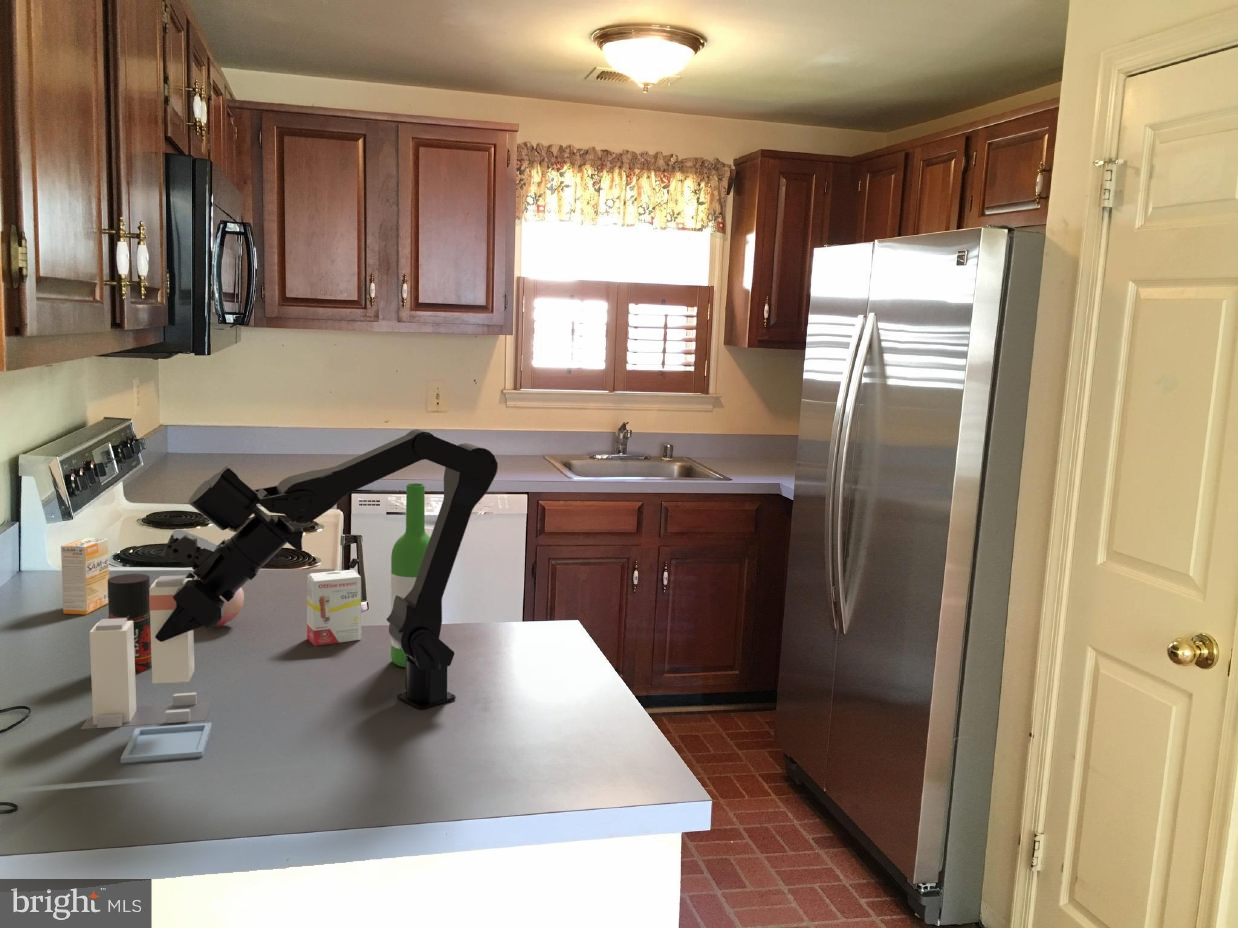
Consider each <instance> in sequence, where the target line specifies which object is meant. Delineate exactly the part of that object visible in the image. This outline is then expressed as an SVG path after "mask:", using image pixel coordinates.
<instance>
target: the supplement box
mask: <svg viewBox="0 0 1238 928" xmlns="http://www.w3.org/2000/svg"><path fill="white" fill-rule="evenodd" d="M60 554H61V555H60V557H61V559H60V561H61V579H62V581H61V582H62V583H61V584H62V588H61V589H62V608H63V609H62V610H63V614H64V615H65V614H67V615H89V614H90V613H92V612H94V611H96V610H98V609H100V608H102V607H104V606H106V605H108V581H107V580H108V579H109V578H110V574H109V573H110V566H109V565H110V564H109V563H110V562H109V538H107V537H106V538H104V537H85V538H82V539H78V540H77V541H76V540H75V541H73V542H70V543H66V544H64V545H63V544H62V545H61V546H60Z"/></svg>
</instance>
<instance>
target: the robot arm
mask: <svg viewBox="0 0 1238 928" xmlns="http://www.w3.org/2000/svg"><path fill="white" fill-rule="evenodd" d="M422 460H426V461H429V462H431V463H434V464H437V465H439V466H441V467H444V468H445V469H444V475H443V501H442V503H441V507H440V508H439V511H438V515H437V518H436V520H435V523H434V526H433V529H432V532H431V535H430V540H429V543H428V546H427V549H426V552H425V555H424V558H423V561H422V563H421V566H420V569H419V572H418V575H417V578H416V581H415V584H414V586H413V588H412V590H411V591H410V592H409V593H408V594H407V596H406V597H405V598H402V597H400V596H398V595H397V596H396V597H395V599H394V604H393V609H392V612H391V611H390V614H389V615H388V616H387V618H386V621H387V622H388V623H389V626H388V633H389V635H390V639H391V638H392V639H393V641H394V642H395V643H396V644H397V645H398V646H399V647H400V648H401V649H402V650H403V652H404V653H405V654H407V655H408V656H406V666H405V667H404V668H405V669H404V671H405V674H404V676H405V677H404V678H405V679H404V685H405V686H404V687H405V688H404V690H405V691H403V692H399V693H397V694H396V698H397V699H399V700H401V701H403V702H405V703H406V704H408V705H410V706H413V707H415V708H417V709H419V710H424V709H427V708H430V707H433V706H437V705H440V704H443V703H444V704H445V703H447V702H451V701H454V700H456V695H455V694H453V693H451V692H449V691H448V667H450V666H451V665H452V662H453V659H454V658H455V657H454V656H455V651H454V650H452V648H450V646H448V645H447V644H446V643H445V642H444V641H443V640H441V639H440V636H441V629H442V624H443V596H444V593H445V590H446V588H447V584H448V583H449V580H450V576H451V575H452V574H451V573H452V571H453V567H454V565H455V562H456V558H457V555H458V552H459V551H460V548H461V547H460V546H461V544H462V542H463V539H464V535H465V533H466V530H467V527H468V525H469V521H470V518H471V516H472V512H473V511H474V508H475V507H476V505H478V503H479V502H480V501H481V500H482V499H483V497H485V495H486V494H487V492H488V491H489V489H490V487H491V485H492V483H493V481H494V479H495V478H496V476H497V473H498V469H499V463H498V461H497V459H496V456H495V455H494V454H493V452H491V450H489V449H487V448H485V447H482V446H479V445H476V444H472V443H469V442H465V443H460V444H458V445H457V444H455V443H453V442H450V441H447V440H445V439H442V438H439V437H437V436H435V435H434V434H433V433H431V432H429V431H426V430H422V429H417V428H416V429H412V430H410V431H409V432H407V433H406V434H405V435H402V436H400V437H398V438H396V439H394V440H391V441H389V442H387V443H384V444H383V445H380V446H378V447H376V448H373V449H371V450H368V451H366V452H365V453H361V454H359V455H358V456H355V457H353V458H351V459H349V460H346V461H344V462H341V463H339V464H337V465H334V466H331V467H327V468H320V469H315V470H310V471H309V470H308V471H305V472H302V473H298V474H293V475H290V476H286V477H285V478H284V479H282V480H281V481H279V482H278V484H277V485H273V486H265V487H260V488H255V489H253V488H251V487H250V486H249V485H248V484H246V483H245V481H243V480H242V479H241V478H240V477H239V476H238V475H237V473H236V472H235V471H233V469H231V468H230V467H229V466H224V467H223V468H222V469H221V470H220V471H219V472H216V473H215V474H214V475H212V476H211V477H210V478H209V479H208V480H204V481H203V482H202V483H201V484H200V486H198V487H197V489H196V490H195V491H194V492H193V493H192V494H191V496H190V498H189V499H188V504H189V506H192V508H193V509H195V511H196V510H197V512H198V513H200V514H201V515H202V516H203V517H204V518H206V519H207V520H208V521H210V522H211V524H213V525H214V526H215V527H217V528H218V529H219V530H221V531H225V530H227V529H230V530H237V529H238V528H239V529H238V530H237V531H236V532H235V533H234V534H233V535H232V536H230V538H227V539H225V538H224V539H223V540H222V541H221V542H220V543H218V544H216V543H214V542H212V541H209V540H208V539H205V538H202V537H200V536H198V535H196V534H193V533H191V532H188V531H185V530H183V529H179V528H176V529H174V531H173V532H172V533H171V535H170V537H169V539H168V541H167V543H166V545H165V547H164V549H163V551H162V554H161V557H163V558H164V559H166V560H168V561H175V562H178V563H180V564H182V565H186V566H188V567H190V568H191V569H192V570H193V572H190V571H189V572H188V573H187V574H186V579H188V578H192V580H187V581H186V582H185V583H184V584H183V585H182V586H181V587H180V588H178V590H177V591H176V593H175V594H174V596H173V598H174V600H175V601H176V608H175V609H174V611H173V612H172V614H171V615H170V616H169V618H168V619H167V620H166V622H165V623H164V625H163V626H162V627H161V629H160V630H159V632H158V633H157V634H156V636H155V638H156V639H157V640H159V641H160V642H163V641H165V640H168V639H170V638H173V637H175V636H178V635H180V634H183V633H186V632H188V631H191V630H193V631H194V630H197V629H199V628H201V627H206V628H207V629H209V630H211V629H213V627H216V626H215V625H216V624H217V623H218V622H219V621H220V620H221V619H222V617H223V614H224V612H225V602H224V601H223V600H222V599H221V598H220V596H222V597H223V598H224V599H225V600H226V601H228V602H229V601H230V600H231V599H232V598H233V597H234V595H235V593H236V592H237V591H238V590H239V589H240V588H242V587H243V586H244V585H245V584H246V583H247V582H249V580H250V581H252V580H253V579H254V578H255V577H256V576H257V574H258V572H259V571H260V569H262V567H264V566H265V565H266V564H267V563H268V562H269V561H270V560H271V559H272V558H274V556H276V554H277V553H278V552H280V550H281V549H282V548H283V547H285V546H286V545H287V544H288V545H290V546H291V547H292V548H293V549H295V550H296V551H297V552H302V551H303V541H302V540H303V535H304V529H303V527H302V526H298V527H297V526H291V525H290V524H289V523H288V522H287V521H285V520H284V519H283V518H282V517H281V516H279V515H284V516H285V517H287V519H289V520H290V521H292V522H296V523H299V524H307V523H310V522H313V521H315V520H317V519H318V518H319V517H321V516H322V515H324V514H325V513H327V512H328V511H329V510H331V509H333V508H334V507H335V506H336V505H337V504H338V503H339V502H340V501H341V500H343V498H345V497H346V496H348V495H349V494H351V493H352V492H355V491H357V490H359V489H361V488H364V487H366V486H368V485H371V484H373V483H374V482H377V481H379V480H381V479H384V478H385V477H387V476H390V475H392V474H394V473H396V472H398V471H401V470H402V469H404V468H407V467H409V466H411V465H414V464H416V463H418V462H421V461H422ZM258 504H259V505H260V506H262V507H263V508H264V510H266V511H267V512H269V513H270V514H275V515H272V516H271V515H269V514H268V513H267V512H265V511H264V510H262V509H261V508H260V507H259V506H258ZM278 514H279V515H278ZM252 515H253V516H252ZM251 516H252V517H251ZM248 519H249V520H248Z"/></svg>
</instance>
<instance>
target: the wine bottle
mask: <svg viewBox="0 0 1238 928" xmlns="http://www.w3.org/2000/svg"><path fill="white" fill-rule="evenodd" d="M405 487H406V494H405V495H406V497H405V499H406V502H405V532H404V533H403V534H402V535H401V536H400V537H399V538H398V539H397V540H396V542H395V543H394V544H393V546H392V551H391V558H390V559H391V562H390V563H391V564H390V613H391V612H392V609H393V604H394V599H395V597H396V596H397V595H398V596H400V597H402V598H405V597H406V596H407V594H408V593H409V592H410V591H411V590H412V588H413V586H414V584H415V581H416V578H417V575H418V572H419V569H420V566H421V563H422V561H423V558H424V555H425V552H426V549H427V546H428V543H429V540H430V537H431V535H428V534H427V532H426V531H425V530H426V529H425V518H426V517H425V516H426V515H425V509H426V508H425V502H426V501H425V498H426V497H425V492H426V491H425V488H426V487H425V485H424V484H423V483H416V482H415V483H408V484H407V485H406V486H405ZM406 656H408V655H407V654H405V653H404V652H403V650H402V649H401V648H400V647H399V646H398V645H397V644H396V643H395V642H394V641H393V639H392V638H391V637H390V658H391V660H392V662H393V663H394V664H395V665H396V666H397V667H401V668H405V666H406ZM394 664H393V665H394Z"/></svg>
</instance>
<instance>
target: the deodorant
mask: <svg viewBox="0 0 1238 928" xmlns="http://www.w3.org/2000/svg"><path fill="white" fill-rule="evenodd" d="M107 581H108V604H107V605H108V619H118V618H127V621H133V627H134V656H135V675H136V674H141V673H143V672H146V671H149V670H152V658H151V625H150V608H149V595H150V592H149V588H150V587H151V579H150V576H149V575H148V574H144V573H143V574H142V573H127V574H126V573H125V574H119V575H114V576H111V577H109V579H108V580H107Z"/></svg>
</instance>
